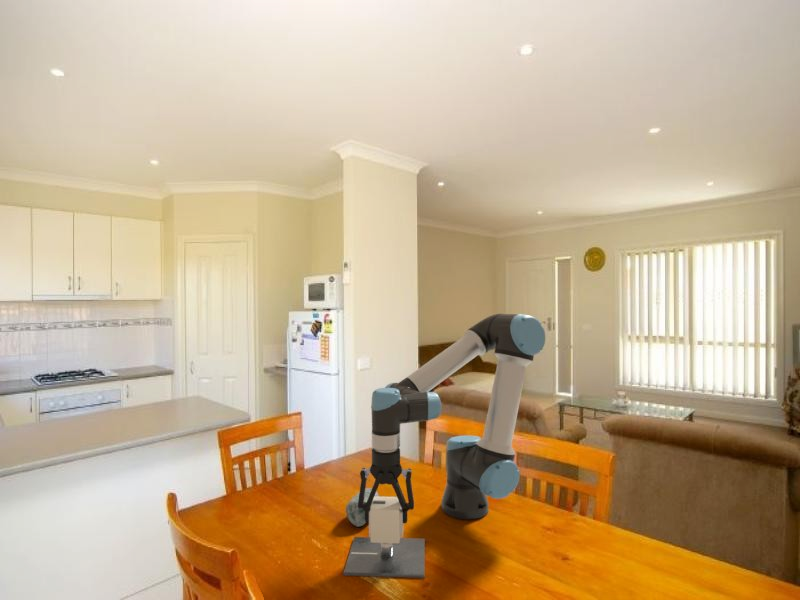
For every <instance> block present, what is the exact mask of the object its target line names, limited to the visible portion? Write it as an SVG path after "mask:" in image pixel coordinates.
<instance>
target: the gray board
mask: <svg viewBox="0 0 800 600" xmlns="http://www.w3.org/2000/svg"><path fill="white" fill-rule="evenodd" d="M425 542H426V539H425V538H414V537H413V538H410V537H403V538H402V537H400V541H399V543H372V542H371V537H369V536H354V537H353V540H352V544H351V547H350V549H349V553H348V557H347V559H346V563H345V566H344V570H343V576H345V577H346V576H349V577H351V576H352V577H356V576H357V577H377V578H378V577H379V578H380V577H382V578H389V577H390V578H411V579H412V578H414V579H417V578H418V579H425V570H426V569H425V564H426V562H425V561H426V560H425V557H426V556H425V555H426V554H425V553H426V552H425V548H426V547H425V545H426V543H425Z"/></svg>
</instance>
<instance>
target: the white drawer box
mask: <svg viewBox="0 0 800 600" xmlns="http://www.w3.org/2000/svg"><path fill="white" fill-rule="evenodd" d="M400 508H401V505H400V503H399V500H398V498H397V496H380V495H379V496H374V498H373V502H372V505H371V509H370V533H371V542H372V543H399V541H400V538H401V537H400Z"/></svg>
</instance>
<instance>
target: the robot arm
mask: <svg viewBox="0 0 800 600" xmlns="http://www.w3.org/2000/svg"><path fill="white" fill-rule="evenodd" d="M545 332H546V331H545V328H544V326H543V325H542V322H541V321H540V320H539V319H537V318H536V317H534V316H532V315H528V314H521V313H518V314H513V313H512V314H511V313H496V314H492V315H489V316H487V317H485V318H483V319H482V320H480V321H478V322H477V323H475V324H474V325H473V326H471V327H469V328H468V329H467V330H465V331H464V333H463V337H461V338H459V339H458V340H456V341H455V342H454V343H453V344H451V345H450V346H448V347H447V348H445V349H444V350H443V351H441V352H440V353H438V354H437V355H435V356H434V357H433V358H431V359H430V360H429V361H427V362H426V363H424V364H423V365H422V366H420V367H419V368H418V369H416V370H415V371H413V372H412V373H411V374H409V375H408V376H407V377H405V378H403V379H402V380H400V381H399V382H391V383H388V384H387V385H385V387H380V388H376V389H375V390H373V392H372V395H371V406H370V409H371V466H370V467H368V468H365V467H362V468H361V469H360V472H359V475H360V480H361V481H360V488H359V492H360V493H359V492H358V493H359V501H358V508H362V509H364V510H365V522H366V523H368V537H371V533H370V509H371V507H370V506H371V503H372V501H373V498H374V496H375V493H376V492H378V491H377V490H378V488H379V485H391V486H392V488H393V491H394V493H395V496H396V497H397V498H398V500H399V503H400V505H401V508H400V538H404V524H407V523H408V512H409V511H411V510H414V508H415V501H414V499H415V498H414V493H413V484H412V479H411V478H412V468H408V469H405V468H403V467H402V465H401V449H400V447H401V425H404V424H409V423H417V422H428V421H433V420H435V419H438V418H439V417H440V416H441V413H442V402H441V398H440V396H439V394H438V393H437V392H435V391H431V390H433V389H434V388H435V387H437V386H438V385H439V384H441V383H442V382H444V381H445V380H446V379H447V378H449V377H450V376H452V375H453V374H454V373H456V372H457V371H458V370H460V369H461V368H463V367H464V366H465V365H466V364H468V363H470V362H471V361H472V360H473V359H475V358H476V357H477V356H480V357H481V356H484V355H485V354H487V353H488V352H491V351H493V350H494V353H493V354H494V355H495V358H496V359H497V363H496V370H495V375H494V379H493V384H492V390H491V395H490V399H489V404H488V409H487V415H486V419H485V425H484V429H483V434H482V437H480V436H478V435H470V434H469V435H456V436H452V437H449V439H447V441H446V448H445V452H446V484H445V489H444V492H443V495H442V497H441V510H442V512H444V513H445V514H446V516H447V515H448V516H450V517H452V518H455V519H460V520H476V519H480V518H483V517H485V516H486V515H487V514H488V513H489V501H488V500H489V499H488V497H487V496H489V497H490V498H492V499H496V500H501V499H505V498H507V497H508V496H509V495H510V494H512V493H513V492H514V491H515V490H516V488H517V486H518V484H519V482H520V475H521V474H520V473H521V472H520V469H519V467H518V465H517V464H516V463H515V457H516V451H515V450H514V448H513V446H512V444H513V439H514V434H515V428H516V423H517V419H518V418H517V417H518V413H519V407H520V404H521V403H520V402H521V397H522V392H523V386H524V381H525V377H526V371H527V367H528V366H530V364H532V363H533V362H534V357H535V355H537V354H539V353H541V351H543V349H544V347H545V344H546V333H545ZM370 474H371V476H373V478H374V482H373V486H372V487H371V488H372V490H371V492H370V495H369V497H368V500H367V502H364V496H365V489H367V479H368V477H369V476H370ZM400 475H402V476H403V478H404V479H405V487H406V494H407V501H408V502H407V501H406V498H405V496H404V493H403V490H402V489H401V485H400V483H399V479H398V478H399V477H400Z"/></svg>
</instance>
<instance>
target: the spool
mask: <svg viewBox="0 0 800 600" xmlns="http://www.w3.org/2000/svg"><path fill="white" fill-rule="evenodd" d="M371 490H372V487H368V488H367V487H366V489H365V496H364V502H367V500H368V497H369V495H370V492H371ZM359 493H360V491H359V492H358V493H356V494H354V496H352V498H351V499H350V500H349V501H348V502H347V503H346V506H345V514H346V518H347V519H348V520H349V521H350V523H351V524H352V525H353V526H355V527H356V528H357V527H362V526H364V525H365V524H366V523H367V522H365V510H364V509H362V508H358V501H359ZM375 496H380V494H379V493H378V491H376V493H375ZM372 502H373V501H372ZM371 505H372V503H371ZM370 507H371V506H370Z"/></svg>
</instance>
